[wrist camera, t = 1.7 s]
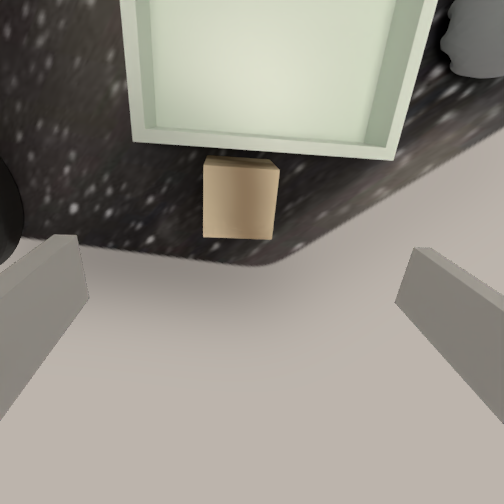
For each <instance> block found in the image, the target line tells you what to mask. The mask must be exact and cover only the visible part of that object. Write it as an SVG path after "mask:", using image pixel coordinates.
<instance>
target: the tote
mask: <svg viewBox="0 0 504 504" xmlns="http://www.w3.org/2000/svg"><path fill="white" fill-rule="evenodd" d="M437 2H438V0H120V9H121V20H122V31H123V42H124V53H125V63H126V74H127V85H128V96H129V107H130V117H131V128H132V139H133V142H144V143H158V144H171V145H185V146H199V147H213V148H226V149H240V150H254V151H268V152H281V153H295V154H309V155H323V156H337V157H350V158H364V159H378V160H392V161H393V160H394V157H395V153H396V149H397V146H398V142H399V139H400V135H401V131H402V128H403V124H404V121H405V117H406V113H407V110H408V106H409V103H410V99H411V95H412V92H413V88H414V85H415V81H416V77H417V74H418V70H419V67H420V63H421V59H422V56H423V52H424V48H425V45H426V41H427V38H428V34H429V30H430V27H431V23H432V20H433V16H434V12H435V9H436V5H437Z"/></svg>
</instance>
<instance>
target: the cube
mask: <svg viewBox="0 0 504 504" xmlns="http://www.w3.org/2000/svg"><path fill="white" fill-rule="evenodd" d="M279 173H280V170H279V169H278V168H277V167H276V166H275V165H274V164H273V163H272V162H271V161H270V159H257V158H242V157H228V156H214V155H207V157H206V160H205V163H204V165H203V237H215V238H242V239H268V240H272V233H273V225H274V216H275V208H276V199H277V191H278V182H279Z"/></svg>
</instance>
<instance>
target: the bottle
mask: <svg viewBox="0 0 504 504" xmlns="http://www.w3.org/2000/svg"><path fill="white" fill-rule="evenodd" d="M448 18H449V19H451V20H450V24H449V27H448V30H447V32H446V34H445V35H444V36H443V37H442V38H441V41H440V45H441V50H442V51H444V52H445V53H446V54H448V55H449V57H450V59H451V63H450V69H451V71H453V72H454V73H456V74H458V75H461V76H467V77H473V78H494V77H500V76H504V0H455V1H454V2H453V3H452V5H451V7H450V9H449V11H448Z"/></svg>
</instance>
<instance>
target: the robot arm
mask: <svg viewBox="0 0 504 504" xmlns="http://www.w3.org/2000/svg"><path fill="white" fill-rule="evenodd" d="M22 229H23V208H22V203H21V199H20V195H19V192H18V189H17V187H16V184H15V182H14V180H13V178H12V176H11V174H10V172H9V170H8V169H7V167H6V165H5V164H4V162H3V161H2V160H1V158H0V265H1V264H2V263H3V262H5V261H6V260H7V259H8V258H9V257H10V256H11V254H12V253H13V252H14V250H15V249H16V247H17V245H18V243H19V240H20V238H21V234H22ZM88 299H89V294H88V289H87V284H86V279H85V274H84V269H83V264H82V259H81V254H80V249H79V244H78V239H77V235H57V234H54V235H53V236H51V237H50V238H49V239H47V240H46V241H44V242H43V243H42V244H40V245H39V246H38V247H36V248H35V249H33V250H32V251H31V252H29V253H28V254H27V255H25V256H24V257H22V258H21V259H19V260H18V261H17V262H15V263H14V264H12V265H11V266H10V267H8V268H7V269H5V270H4V271H3V272H1V273H0V421H1V419H2V418H3V416H4V415H5V414H6V412H7V411H8V410H9V408H10V407H11V405H12V404H13V403H14V401H15V400H16V399H17V397H18V395H19V394H20V393H21V392H22V390H23V389H24V388H25V386H26V385H27V383H28V382H29V381H30V379H31V378H32V376H33V375H34V374H35V372H36V371H37V370H38V368H39V367H40V366H41V364H42V363H43V361H44V360H45V359H46V357H47V356H48V355H49V353H50V352H51V350H52V349H53V347H54V346H55V345H56V344H57V342H58V341H59V339H60V338H61V336H62V335H63V334H64V333H65V331H66V330H67V328H68V327H69V326H70V324H71V323H72V322H73V320H74V319H75V317H76V316H77V314H78V313H79V312H80V311H81V309H82V308H83V306H84V305H85V304H86V302H87V301H88ZM395 303H396V304H397V306H398V307H399V308H400V309H401V310H402V311H403V312H404V313H405V314H406V316H407V317H408V318H409V319H410V320H411V321H412V322H413V323H414V325H415V326H416V327H417V328H418V329H419V330H420V331H421V332H422V334H423V335H424V336H425V337H426V338H427V339H428V340H429V341H430V343H431V344H432V345H433V346H434V347H435V348H436V349H437V350H438V352H439V353H440V354H441V355H442V356H443V357H444V358H445V359H446V360H447V362H448V363H449V364H450V365H451V366H452V367H453V368H454V369H455V371H456V372H457V373H458V374H459V375H460V376H461V377H462V378H463V380H464V381H465V382H466V383H467V384H468V385H469V386H470V387H471V388H472V390H473V391H474V392H475V393H476V394H477V395H478V396H479V397H480V399H482V401H483V402H484V403H485V404H486V405H487V406H488V407H489V409H490V410H491V411H492V412H493V413H494V414H495V415H496V416H497V418H498V419H499V420H500V421H501V422H502V423H503V424H504V296H503V295H502V294H500V293H499V292H497V291H496V290H494V289H493V288H491V287H490V286H488V285H487V284H485V283H483V282H482V281H480V280H479V279H478V278H476V277H475V276H473V275H471V274H469V273H468V272H467V271H465V270H464V269H462V268H461V267H459V266H458V265H456V264H455V263H453V262H452V261H450V260H449V259H447V258H446V257H444V256H442V255H441V254H440V253H438V252H436V251H435V250H433V249H432V248H420V247H414V248H413V251H412V254H411V257H410V260H409V263H408V266H407V268H406V271H405V275H404V277H403V280H402V283H401V286H400V289H399V291H398V294H397V298H396V300H395Z"/></svg>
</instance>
